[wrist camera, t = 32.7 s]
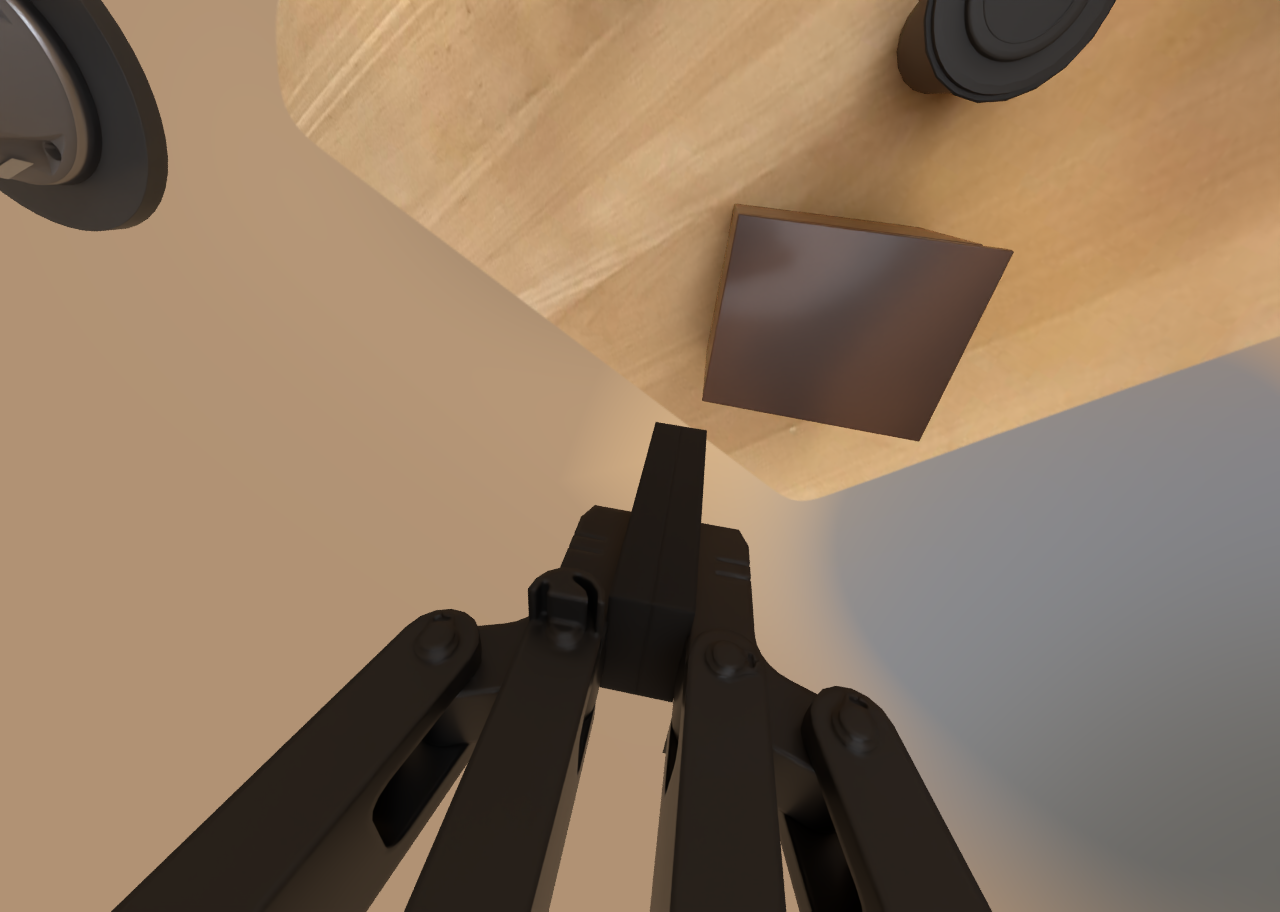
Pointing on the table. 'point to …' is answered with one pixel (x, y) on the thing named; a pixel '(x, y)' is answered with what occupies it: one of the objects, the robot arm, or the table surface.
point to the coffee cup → (993, 44)
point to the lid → (846, 323)
